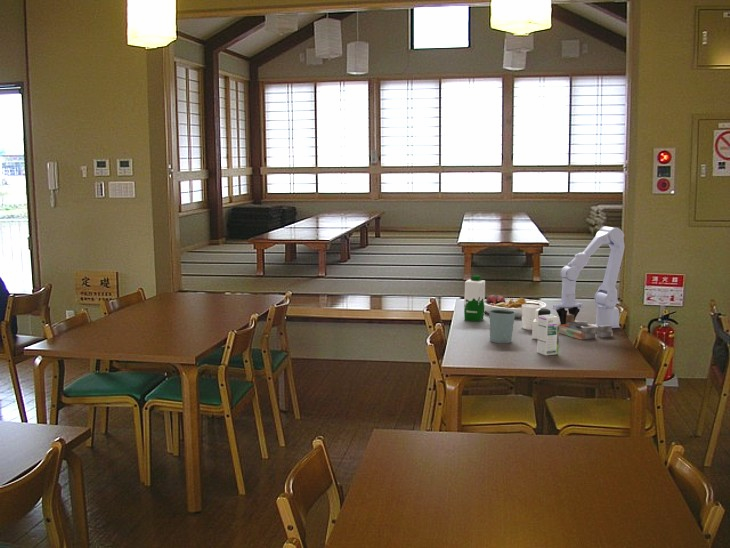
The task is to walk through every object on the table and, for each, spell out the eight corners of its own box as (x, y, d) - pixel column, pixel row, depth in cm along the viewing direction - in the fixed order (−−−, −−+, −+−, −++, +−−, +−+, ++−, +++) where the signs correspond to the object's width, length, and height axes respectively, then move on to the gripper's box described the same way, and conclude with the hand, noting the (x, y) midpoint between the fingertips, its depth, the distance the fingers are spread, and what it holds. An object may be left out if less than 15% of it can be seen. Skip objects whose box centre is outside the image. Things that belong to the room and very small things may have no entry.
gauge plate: (585, 330, 348) (585, 320, 347) (595, 333, 342) (595, 323, 341) (557, 332, 342) (557, 323, 341) (567, 335, 336) (567, 326, 335)
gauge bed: (569, 323, 362) (570, 313, 361) (613, 336, 336) (613, 325, 336) (538, 326, 355) (539, 316, 355) (580, 339, 329) (581, 328, 329)
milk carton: (485, 319, 371) (487, 275, 368) (480, 322, 363) (482, 278, 360) (467, 317, 374) (468, 274, 372) (461, 320, 366) (463, 277, 363)
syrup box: (545, 355, 300) (547, 317, 298) (536, 352, 306) (538, 314, 304) (558, 354, 302) (560, 316, 301) (548, 351, 308) (550, 313, 306)
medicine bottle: (551, 336, 334) (552, 308, 332) (549, 340, 327) (550, 311, 326) (534, 335, 336) (535, 307, 335) (531, 338, 330) (533, 309, 328)
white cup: (539, 330, 346) (540, 307, 345) (520, 329, 348) (521, 306, 347) (539, 327, 354) (540, 304, 353) (520, 326, 356) (521, 303, 354)
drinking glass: (483, 339, 328) (484, 310, 326) (504, 337, 332) (506, 308, 330) (497, 344, 318) (498, 314, 317) (519, 342, 322) (520, 312, 321)
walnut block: (567, 326, 354) (568, 313, 353) (573, 328, 351) (574, 314, 350) (560, 327, 353) (560, 313, 352) (566, 329, 349) (566, 315, 348)
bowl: (554, 312, 392) (555, 296, 391) (532, 321, 367) (533, 304, 366) (497, 305, 408) (497, 290, 407) (472, 314, 383) (472, 298, 382)
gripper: (576, 291, 356) (574, 321, 358) (549, 293, 350) (547, 324, 352) (586, 294, 350) (585, 324, 352) (559, 295, 344) (557, 327, 346)
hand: (567, 324), depth 351 cm, fingers closed on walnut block, 4 cm apart
